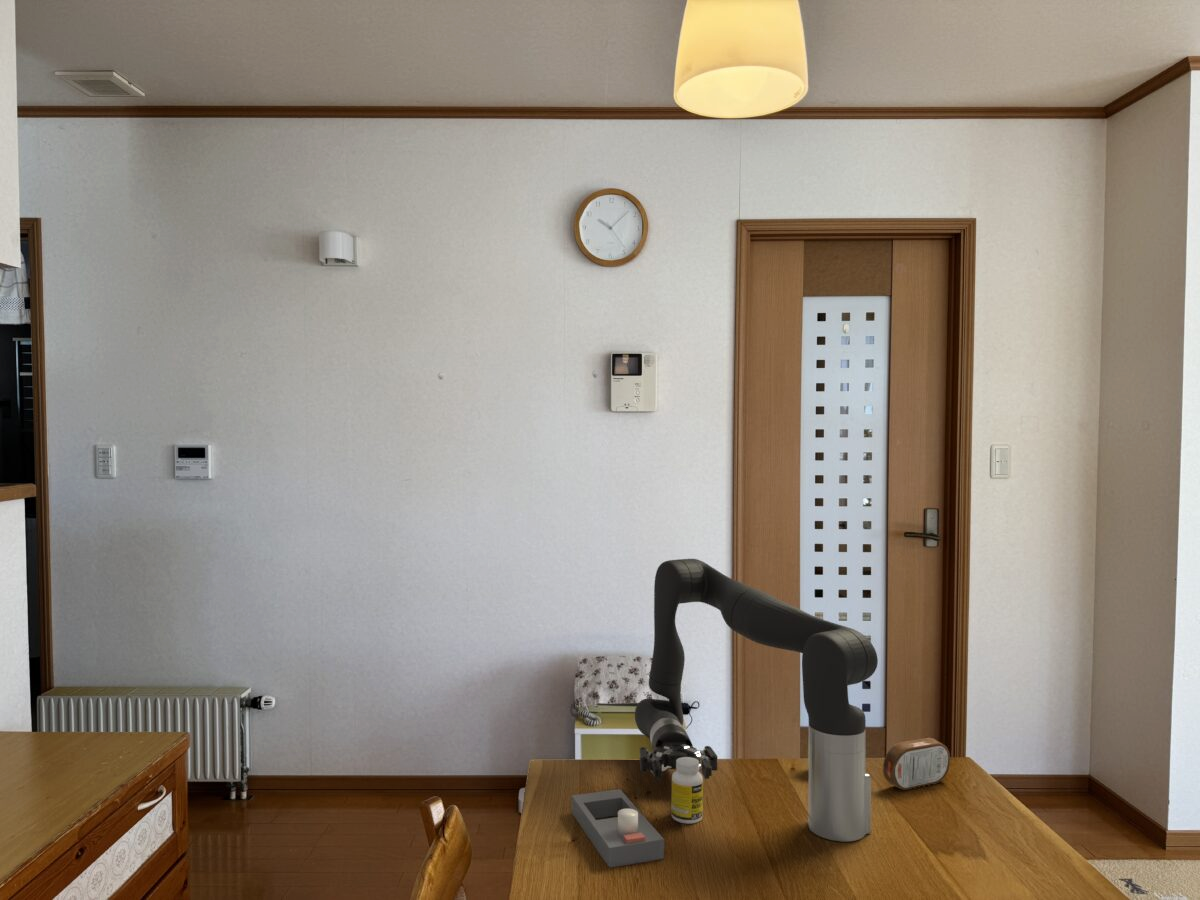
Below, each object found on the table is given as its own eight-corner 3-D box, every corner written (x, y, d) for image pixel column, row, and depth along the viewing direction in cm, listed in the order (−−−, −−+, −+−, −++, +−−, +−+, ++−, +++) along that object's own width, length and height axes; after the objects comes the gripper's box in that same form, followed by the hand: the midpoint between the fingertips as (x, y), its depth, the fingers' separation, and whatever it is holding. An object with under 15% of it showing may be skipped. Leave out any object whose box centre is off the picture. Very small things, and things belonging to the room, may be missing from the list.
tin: (940, 776, 157) (940, 733, 157) (953, 782, 154) (953, 738, 154) (881, 788, 151) (881, 744, 151) (893, 795, 148) (893, 749, 148)
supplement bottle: (694, 827, 134) (694, 769, 134) (665, 819, 137) (666, 762, 137) (707, 815, 139) (708, 759, 139) (679, 808, 142) (680, 753, 142)
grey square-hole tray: (619, 805, 143) (619, 772, 143) (663, 858, 124) (664, 819, 124) (571, 812, 140) (571, 778, 140) (609, 867, 121) (609, 827, 121)
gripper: (634, 723, 158) (644, 753, 142) (705, 722, 159) (723, 752, 143) (634, 762, 158) (644, 796, 141) (705, 760, 159) (723, 794, 142)
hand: (683, 773), depth 142 cm, fingers open, 8 cm apart
